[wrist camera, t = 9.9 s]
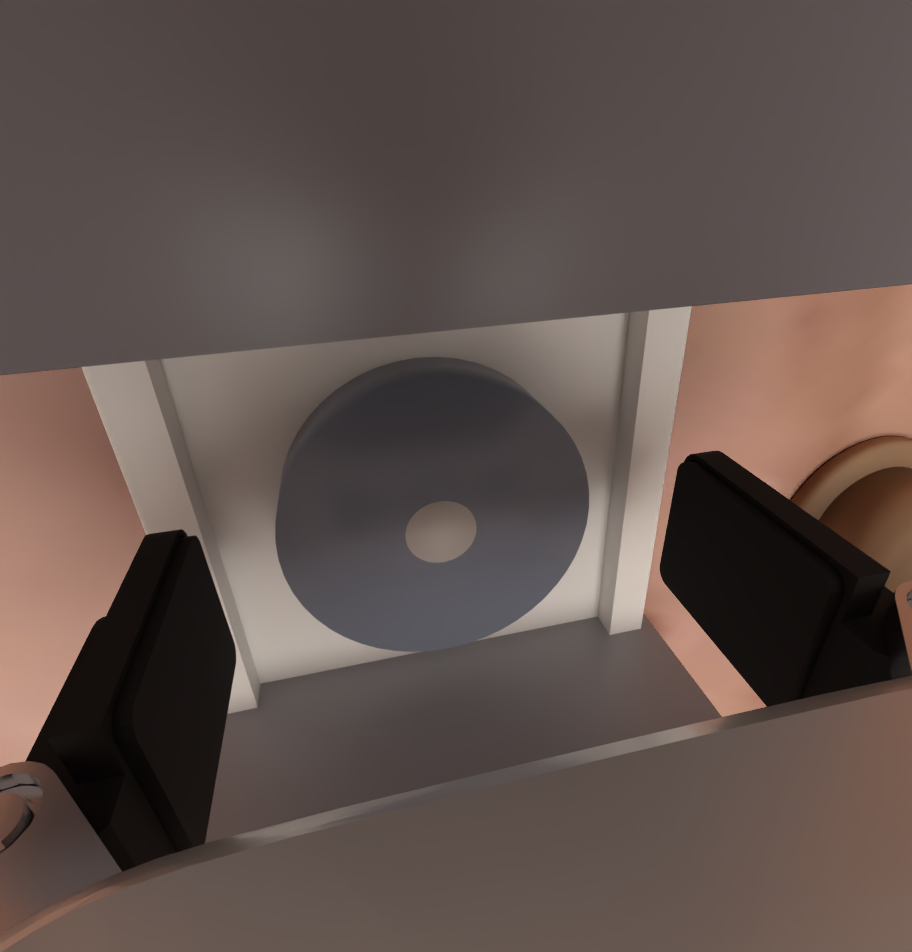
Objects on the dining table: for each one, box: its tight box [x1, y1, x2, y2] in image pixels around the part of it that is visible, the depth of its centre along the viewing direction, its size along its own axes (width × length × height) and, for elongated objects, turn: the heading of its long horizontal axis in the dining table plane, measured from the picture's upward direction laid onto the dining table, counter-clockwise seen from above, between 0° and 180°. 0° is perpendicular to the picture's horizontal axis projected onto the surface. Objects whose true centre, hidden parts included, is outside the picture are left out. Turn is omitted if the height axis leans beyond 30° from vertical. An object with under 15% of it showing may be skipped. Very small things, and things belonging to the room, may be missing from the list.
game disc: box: [275, 357, 589, 652], centre depth 13 cm, size 7×7×2 cm
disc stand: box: [791, 436, 912, 593], centre depth 17 cm, size 6×6×4 cm
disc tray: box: [81, 306, 722, 844], centre depth 11 cm, size 16×13×5 cm
